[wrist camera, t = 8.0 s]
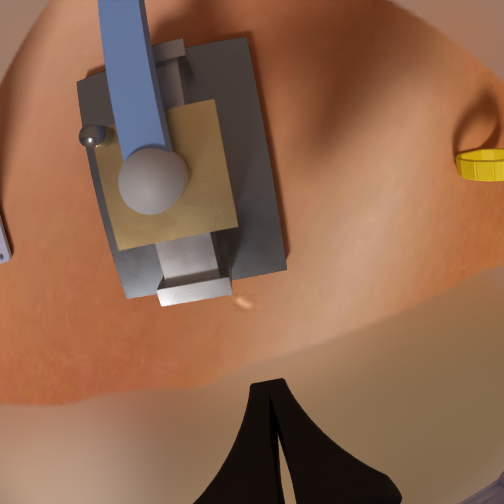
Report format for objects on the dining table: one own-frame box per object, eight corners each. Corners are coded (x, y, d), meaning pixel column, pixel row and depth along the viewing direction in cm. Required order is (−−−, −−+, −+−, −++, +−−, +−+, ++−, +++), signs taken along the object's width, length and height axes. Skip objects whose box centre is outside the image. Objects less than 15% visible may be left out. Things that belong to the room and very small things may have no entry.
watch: (485, 138, 20) (538, 142, 14) (490, 170, 21) (541, 179, 15) (441, 148, 19) (499, 153, 14) (446, 184, 20) (503, 196, 15)
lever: (194, 198, 14) (189, 205, 12) (140, 211, 14) (127, 221, 12) (152, -10, 10) (143, -28, 8) (102, 8, 10) (87, -8, 8)
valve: (130, 292, 21) (96, 351, 14) (82, 84, 16) (24, 62, 10) (284, 264, 21) (309, 317, 15) (245, 42, 17) (255, -9, 10)
